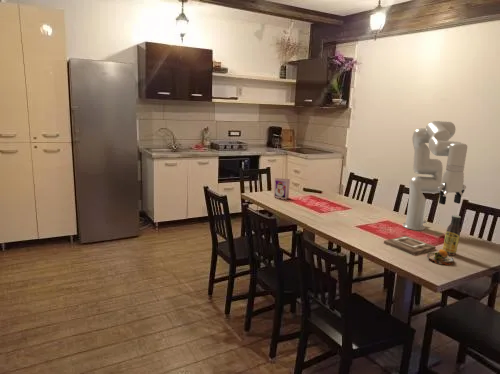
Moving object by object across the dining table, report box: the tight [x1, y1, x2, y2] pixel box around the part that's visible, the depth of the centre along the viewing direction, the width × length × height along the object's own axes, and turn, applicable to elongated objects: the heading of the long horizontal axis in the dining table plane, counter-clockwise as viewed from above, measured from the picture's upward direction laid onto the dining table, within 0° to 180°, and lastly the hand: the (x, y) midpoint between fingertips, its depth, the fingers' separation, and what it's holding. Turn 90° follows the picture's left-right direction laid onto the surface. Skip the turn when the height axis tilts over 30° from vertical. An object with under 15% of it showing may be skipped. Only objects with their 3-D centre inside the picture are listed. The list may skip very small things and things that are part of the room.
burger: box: [426, 248, 454, 266], centre depth 183 cm, size 12×12×8 cm
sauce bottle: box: [442, 214, 462, 256], centre depth 190 cm, size 7×6×20 cm
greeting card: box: [273, 177, 291, 200], centre depth 291 cm, size 11×7×15 cm, turn 53°
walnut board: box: [383, 235, 436, 256], centre depth 200 cm, size 18×18×2 cm
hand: (449, 203), depth 186 cm, fingers open, 9 cm apart
